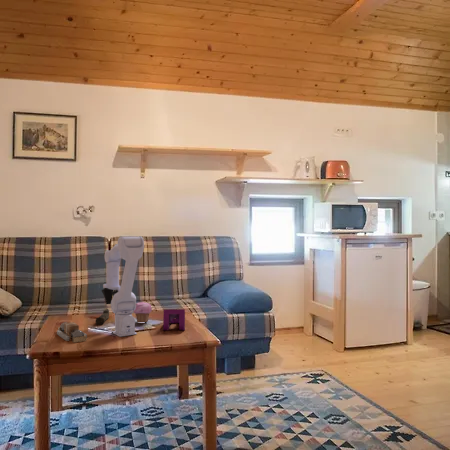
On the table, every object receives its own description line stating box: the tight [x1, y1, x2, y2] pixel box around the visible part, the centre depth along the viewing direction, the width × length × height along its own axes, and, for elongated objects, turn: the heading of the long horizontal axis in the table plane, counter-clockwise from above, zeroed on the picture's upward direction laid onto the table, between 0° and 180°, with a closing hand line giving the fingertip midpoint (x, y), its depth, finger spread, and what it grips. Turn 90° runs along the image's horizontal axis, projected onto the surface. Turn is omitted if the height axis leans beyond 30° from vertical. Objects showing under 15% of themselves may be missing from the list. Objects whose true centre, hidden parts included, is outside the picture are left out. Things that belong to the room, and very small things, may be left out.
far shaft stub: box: [57, 321, 67, 333], centre depth 201 cm, size 6×5×4 cm
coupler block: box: [63, 322, 80, 340], centre depth 194 cm, size 4×8×5 cm, turn 34°
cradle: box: [56, 330, 88, 342], centre depth 194 cm, size 14×8×2 cm, turn 35°
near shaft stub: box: [71, 329, 87, 344], centre depth 187 cm, size 6×5×4 cm
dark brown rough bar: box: [95, 308, 110, 326], centre depth 225 cm, size 19×4×5 cm, turn 0°
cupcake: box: [133, 301, 153, 323], centre depth 220 cm, size 9×9×10 cm
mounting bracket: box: [162, 308, 186, 332], centre depth 211 cm, size 10×8×18 cm
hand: (112, 305), depth 212 cm, fingers open, 7 cm apart
